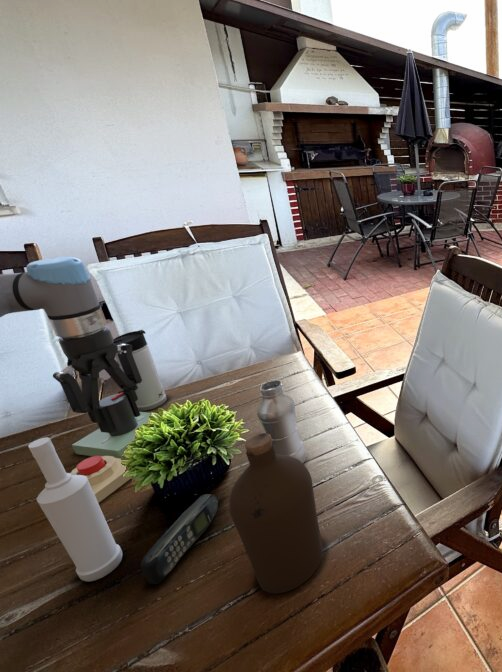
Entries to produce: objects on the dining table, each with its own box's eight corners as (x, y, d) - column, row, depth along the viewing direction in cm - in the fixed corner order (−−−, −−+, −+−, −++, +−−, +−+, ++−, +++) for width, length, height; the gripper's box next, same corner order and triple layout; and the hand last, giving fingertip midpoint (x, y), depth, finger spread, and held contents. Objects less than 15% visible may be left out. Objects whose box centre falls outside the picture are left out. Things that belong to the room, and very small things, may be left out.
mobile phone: (152, 565, 60) (221, 483, 74) (132, 565, 60) (205, 482, 74) (163, 587, 62) (228, 502, 75) (143, 586, 62) (212, 502, 75)
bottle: (72, 588, 61) (0, 460, 52) (89, 558, 66) (25, 435, 57) (115, 575, 63) (53, 449, 54) (129, 546, 67) (73, 426, 59)
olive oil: (337, 565, 64) (310, 441, 56) (263, 615, 58) (219, 483, 49) (314, 522, 72) (287, 406, 63) (246, 562, 65) (206, 438, 56)
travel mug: (172, 400, 105) (148, 333, 98) (140, 414, 100) (113, 343, 93) (163, 393, 108) (139, 327, 101) (131, 406, 103) (104, 337, 96)
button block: (51, 499, 76) (42, 483, 75) (102, 463, 85) (96, 448, 83) (95, 505, 75) (87, 489, 74) (143, 469, 83) (137, 454, 82)
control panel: (75, 454, 87) (71, 444, 86) (132, 418, 98) (128, 409, 98) (122, 460, 86) (118, 450, 85) (174, 423, 97) (171, 414, 96)
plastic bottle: (313, 464, 85) (295, 384, 78) (279, 483, 80) (256, 399, 73) (301, 449, 89) (283, 372, 82) (268, 466, 84) (246, 385, 77)
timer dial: (121, 437, 89) (108, 406, 86) (103, 435, 89) (89, 404, 86) (143, 423, 93) (131, 393, 90) (125, 421, 94) (113, 391, 91)
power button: (74, 475, 77) (70, 468, 77) (95, 461, 81) (92, 454, 80) (90, 477, 77) (86, 470, 76) (110, 463, 80) (107, 456, 79)
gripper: (45, 354, 74) (91, 453, 82) (142, 315, 90) (172, 400, 98) (12, 351, 75) (60, 449, 83) (114, 313, 91) (146, 398, 99)
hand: (121, 423), depth 91 cm, fingers closed on timer dial, 5 cm apart
